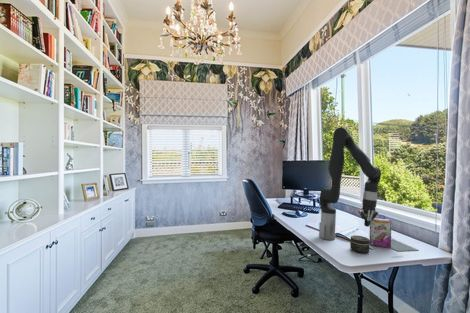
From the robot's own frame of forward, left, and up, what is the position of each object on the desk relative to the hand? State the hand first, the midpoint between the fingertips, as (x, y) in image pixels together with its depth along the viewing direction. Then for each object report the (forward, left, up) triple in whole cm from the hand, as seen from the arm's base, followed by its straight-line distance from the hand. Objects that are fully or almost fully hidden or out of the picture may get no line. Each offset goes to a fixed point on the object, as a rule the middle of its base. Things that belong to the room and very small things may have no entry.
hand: (366, 226), depth 145 cm
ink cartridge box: (+25, +15, -13) cm, 32 cm away
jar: (-10, -7, -13) cm, 17 cm away
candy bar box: (+9, -1, -12) cm, 15 cm away
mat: (+20, -1, -12) cm, 24 cm away
